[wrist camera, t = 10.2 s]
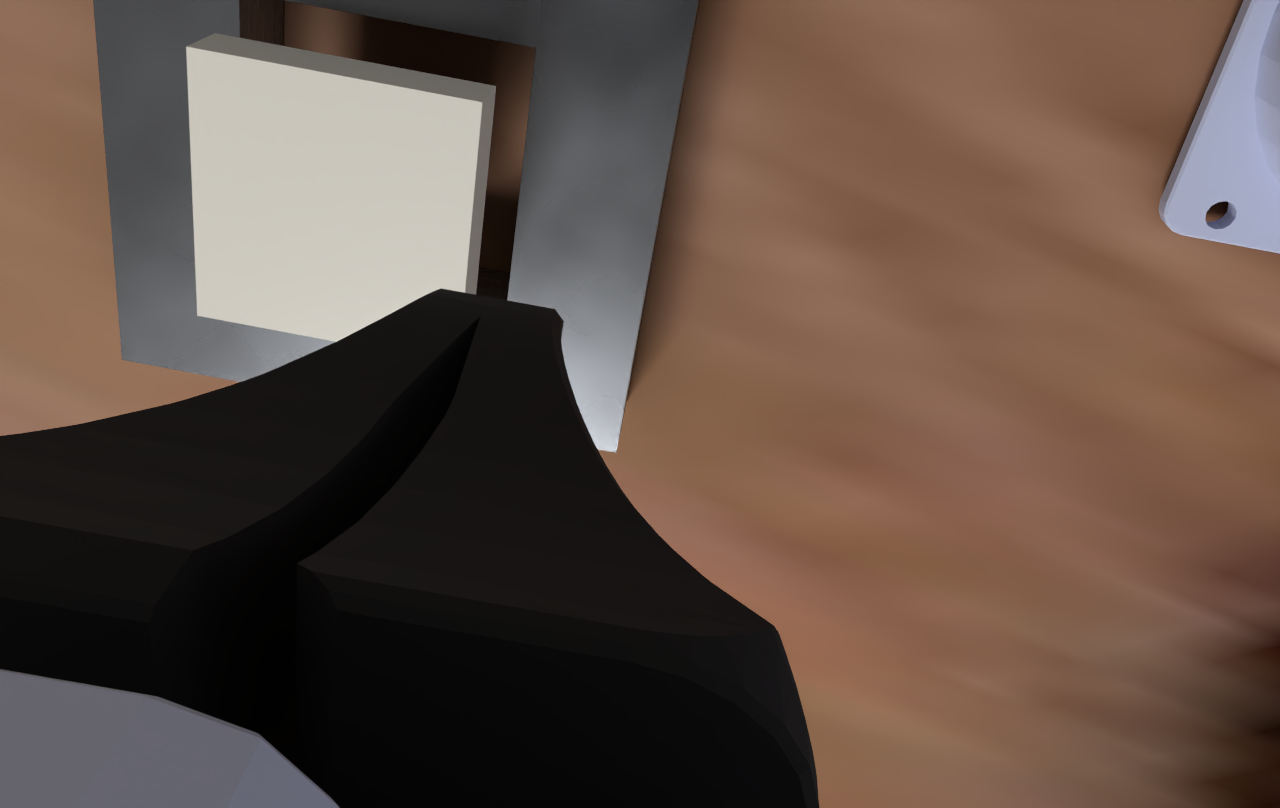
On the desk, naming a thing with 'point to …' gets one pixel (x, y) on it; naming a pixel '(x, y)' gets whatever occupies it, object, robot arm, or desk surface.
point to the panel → (549, 192)
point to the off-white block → (330, 185)
